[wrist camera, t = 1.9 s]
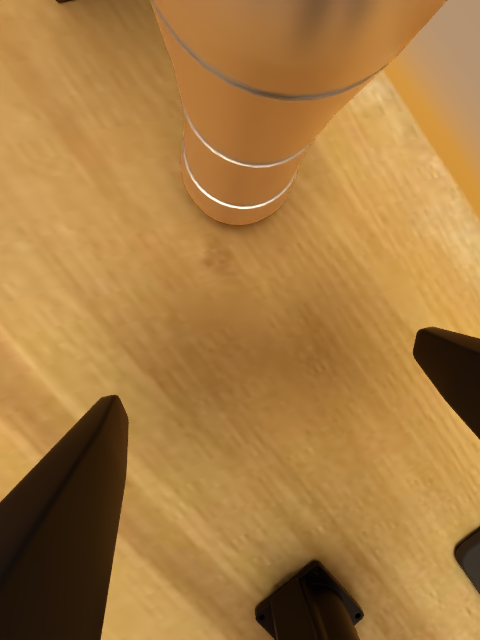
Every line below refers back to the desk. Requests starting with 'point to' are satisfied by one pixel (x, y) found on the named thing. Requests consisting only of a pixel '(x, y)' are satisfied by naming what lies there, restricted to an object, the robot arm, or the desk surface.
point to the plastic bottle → (270, 86)
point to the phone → (470, 558)
